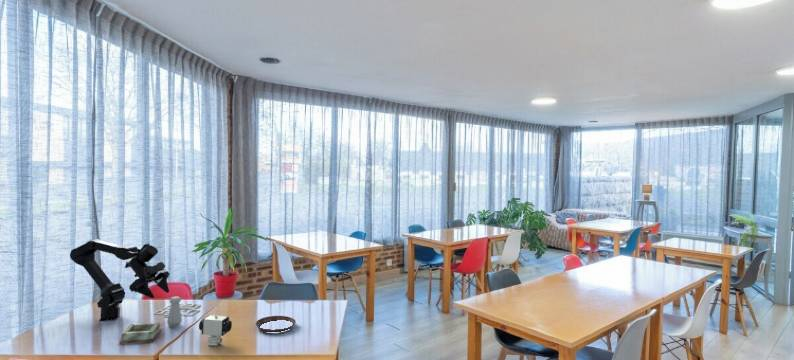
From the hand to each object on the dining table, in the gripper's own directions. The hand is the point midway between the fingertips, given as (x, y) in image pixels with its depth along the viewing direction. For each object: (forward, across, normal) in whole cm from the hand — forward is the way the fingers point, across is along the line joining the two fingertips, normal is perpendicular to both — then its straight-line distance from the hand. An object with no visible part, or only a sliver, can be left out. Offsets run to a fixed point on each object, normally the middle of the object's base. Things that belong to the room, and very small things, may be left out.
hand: (161, 294), depth 185 cm
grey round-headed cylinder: (+15, 0, +4) cm, 15 cm away
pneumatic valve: (+35, -13, -16) cm, 41 cm away
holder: (+12, -15, +7) cm, 21 cm away
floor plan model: (+9, +18, +11) cm, 23 cm away
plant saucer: (+46, +10, -27) cm, 54 cm away
